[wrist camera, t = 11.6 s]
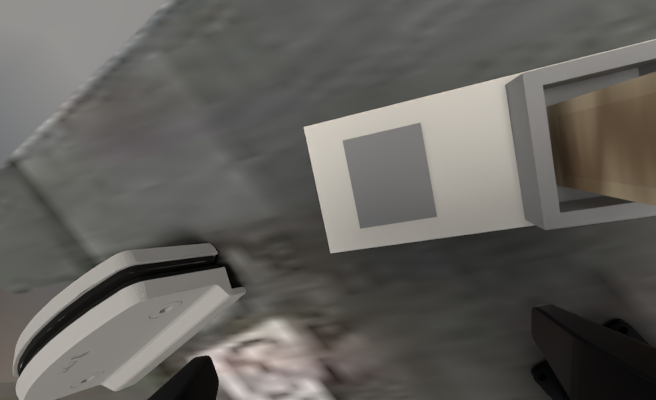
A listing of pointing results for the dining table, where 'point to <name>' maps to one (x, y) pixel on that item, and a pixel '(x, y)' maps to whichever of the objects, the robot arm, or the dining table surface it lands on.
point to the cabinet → (464, 159)
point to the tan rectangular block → (608, 140)
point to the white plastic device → (121, 320)
